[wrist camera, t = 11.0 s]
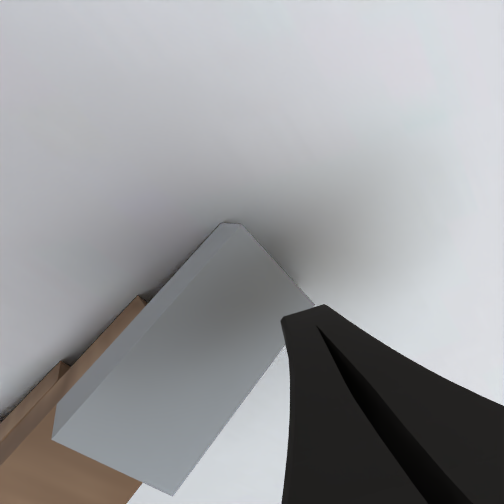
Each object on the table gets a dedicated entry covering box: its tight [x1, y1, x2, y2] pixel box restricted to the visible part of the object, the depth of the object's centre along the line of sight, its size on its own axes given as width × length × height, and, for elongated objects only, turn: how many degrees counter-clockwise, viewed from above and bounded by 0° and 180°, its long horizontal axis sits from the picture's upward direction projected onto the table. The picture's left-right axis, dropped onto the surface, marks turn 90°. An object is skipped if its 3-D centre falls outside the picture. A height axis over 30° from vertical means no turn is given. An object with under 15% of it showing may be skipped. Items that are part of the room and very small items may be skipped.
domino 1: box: [0, 295, 148, 504], centre depth 13 cm, size 2×5×9 cm
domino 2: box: [51, 223, 315, 496], centre depth 12 cm, size 2×5×9 cm
